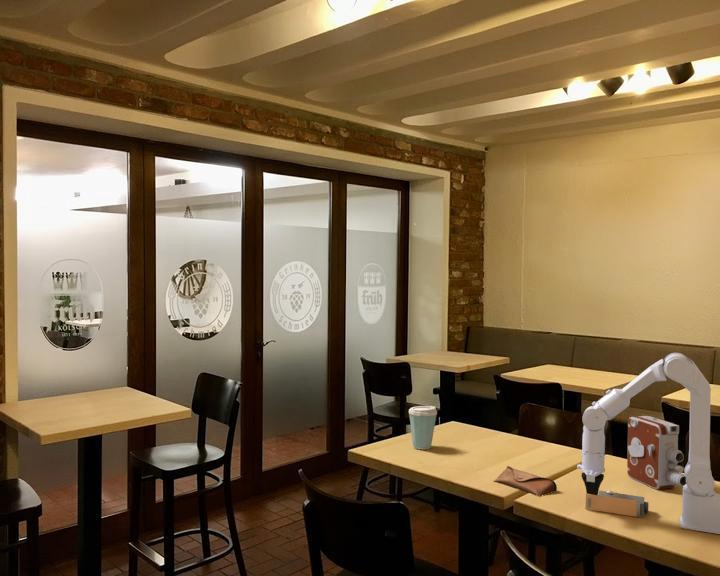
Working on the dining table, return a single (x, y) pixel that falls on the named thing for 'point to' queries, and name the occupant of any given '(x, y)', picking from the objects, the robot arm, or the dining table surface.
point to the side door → (613, 505)
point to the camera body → (629, 497)
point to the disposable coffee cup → (422, 425)
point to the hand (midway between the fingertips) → (592, 500)
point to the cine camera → (654, 453)
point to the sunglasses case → (526, 482)
